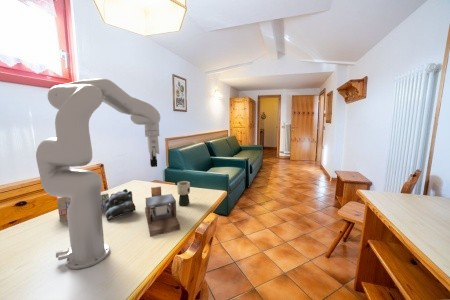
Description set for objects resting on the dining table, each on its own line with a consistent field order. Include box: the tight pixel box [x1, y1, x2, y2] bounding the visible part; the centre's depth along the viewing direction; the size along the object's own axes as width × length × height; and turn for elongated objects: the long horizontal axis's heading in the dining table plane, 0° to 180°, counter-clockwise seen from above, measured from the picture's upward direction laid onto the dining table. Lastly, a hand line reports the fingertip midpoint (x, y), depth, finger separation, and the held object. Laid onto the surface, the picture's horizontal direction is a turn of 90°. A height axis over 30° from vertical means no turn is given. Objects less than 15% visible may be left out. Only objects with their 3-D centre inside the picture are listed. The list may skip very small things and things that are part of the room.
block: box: [155, 204, 167, 216], centre depth 95 cm, size 5×5×6 cm
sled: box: [150, 186, 172, 221], centre depth 100 cm, size 9×20×9 cm, turn 26°
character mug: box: [176, 180, 191, 206], centre depth 114 cm, size 11×7×13 cm, turn 10°
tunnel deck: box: [144, 193, 181, 238], centre depth 95 cm, size 13×26×11 cm, turn 26°
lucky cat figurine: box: [105, 188, 137, 221], centre depth 102 cm, size 15×12×14 cm
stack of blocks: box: [56, 190, 110, 223], centre depth 103 cm, size 21×6×12 cm, turn 131°
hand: (153, 165), depth 111 cm, fingers open, 2 cm apart
